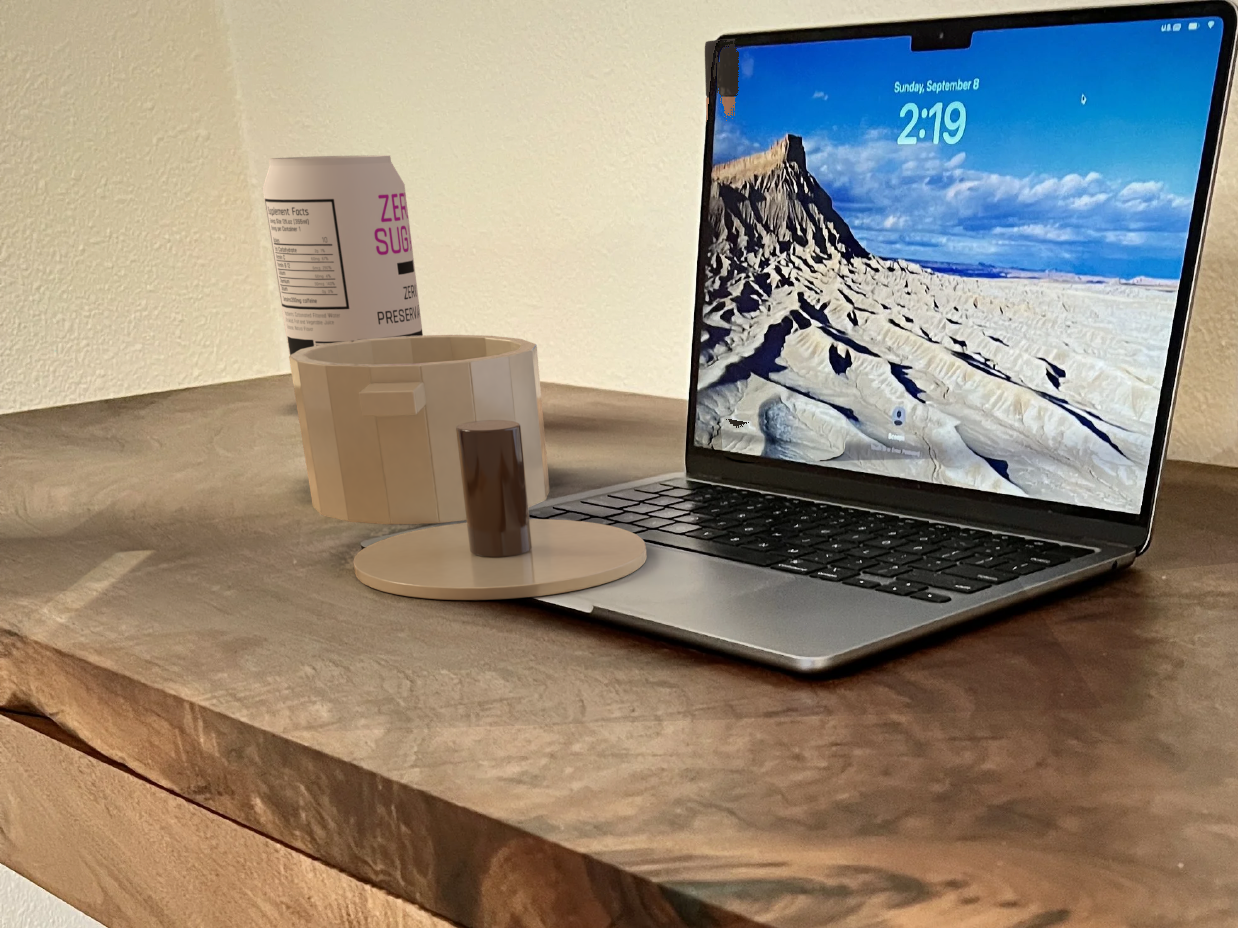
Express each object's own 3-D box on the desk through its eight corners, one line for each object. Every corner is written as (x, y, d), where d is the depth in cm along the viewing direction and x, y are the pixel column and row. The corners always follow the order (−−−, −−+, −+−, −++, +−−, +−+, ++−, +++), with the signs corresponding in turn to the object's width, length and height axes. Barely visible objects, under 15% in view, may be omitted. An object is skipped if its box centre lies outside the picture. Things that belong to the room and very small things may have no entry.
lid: (330, 620, 63) (304, 456, 60) (384, 547, 73) (364, 404, 70) (642, 611, 63) (632, 448, 60) (651, 539, 74) (643, 397, 71)
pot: (280, 552, 73) (250, 377, 69) (351, 479, 87) (329, 331, 84) (532, 545, 73) (516, 370, 69) (561, 473, 88) (549, 326, 84)
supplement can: (298, 420, 105) (255, 157, 97) (426, 412, 107) (394, 153, 99) (304, 440, 98) (259, 160, 91) (441, 431, 100) (407, 155, 93)
